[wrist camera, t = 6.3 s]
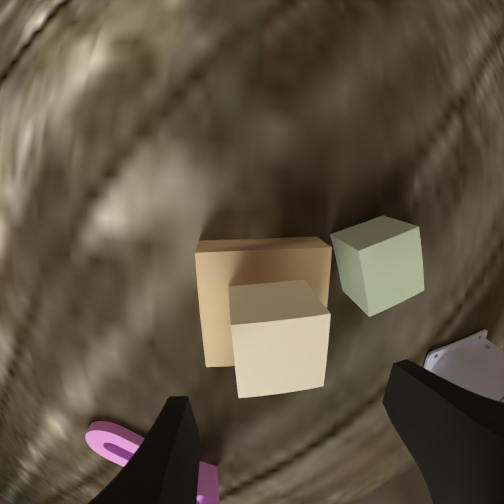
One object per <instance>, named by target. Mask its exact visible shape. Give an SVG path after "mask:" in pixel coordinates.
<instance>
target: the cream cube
mask: <svg viewBox="0 0 504 504" xmlns="http://www.w3.org/2000/svg"><path fill="white" fill-rule="evenodd" d="M228 294H229V309H230V323H231V333H232V343H233V352H234V362H235V371H236V380H237V388H238V397H239V398H246V397H256V396H264V395H272V394H280V393H287V392H294V391H300V390H306V389H311V388H317V387H322V386H324V377H325V369H326V360H327V350H328V339H329V328H330V312H329V311H328V310H327V308H326V307H325V306H324V304H323V303H322V302H321V301H320V299H319V298H318V297H317V295H316V294H315V293H314V291H313V290H312V289H311V287H310V286H309V285H308V284H307V282H306V281H305V280H294V281H284V282H273V283H262V284H251V285H239V286H228Z"/></svg>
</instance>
